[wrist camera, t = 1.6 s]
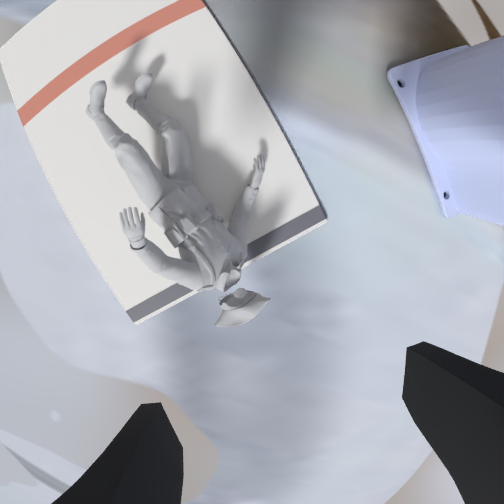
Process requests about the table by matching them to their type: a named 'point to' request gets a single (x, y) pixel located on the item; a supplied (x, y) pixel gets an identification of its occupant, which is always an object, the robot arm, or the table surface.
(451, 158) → the robot arm
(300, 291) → the table surface
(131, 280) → the mat
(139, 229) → the soldier figure
